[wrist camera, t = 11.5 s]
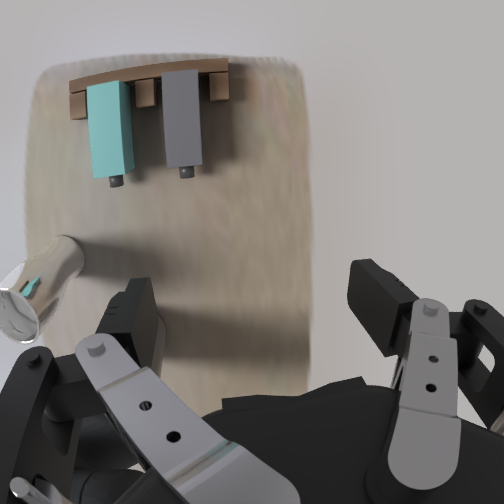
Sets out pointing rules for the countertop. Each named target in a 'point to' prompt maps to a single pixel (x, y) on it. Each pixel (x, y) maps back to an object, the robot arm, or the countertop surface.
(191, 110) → the charcoal plug
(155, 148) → the countertop surface
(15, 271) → the beer glass
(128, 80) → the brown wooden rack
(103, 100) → the teal plug
